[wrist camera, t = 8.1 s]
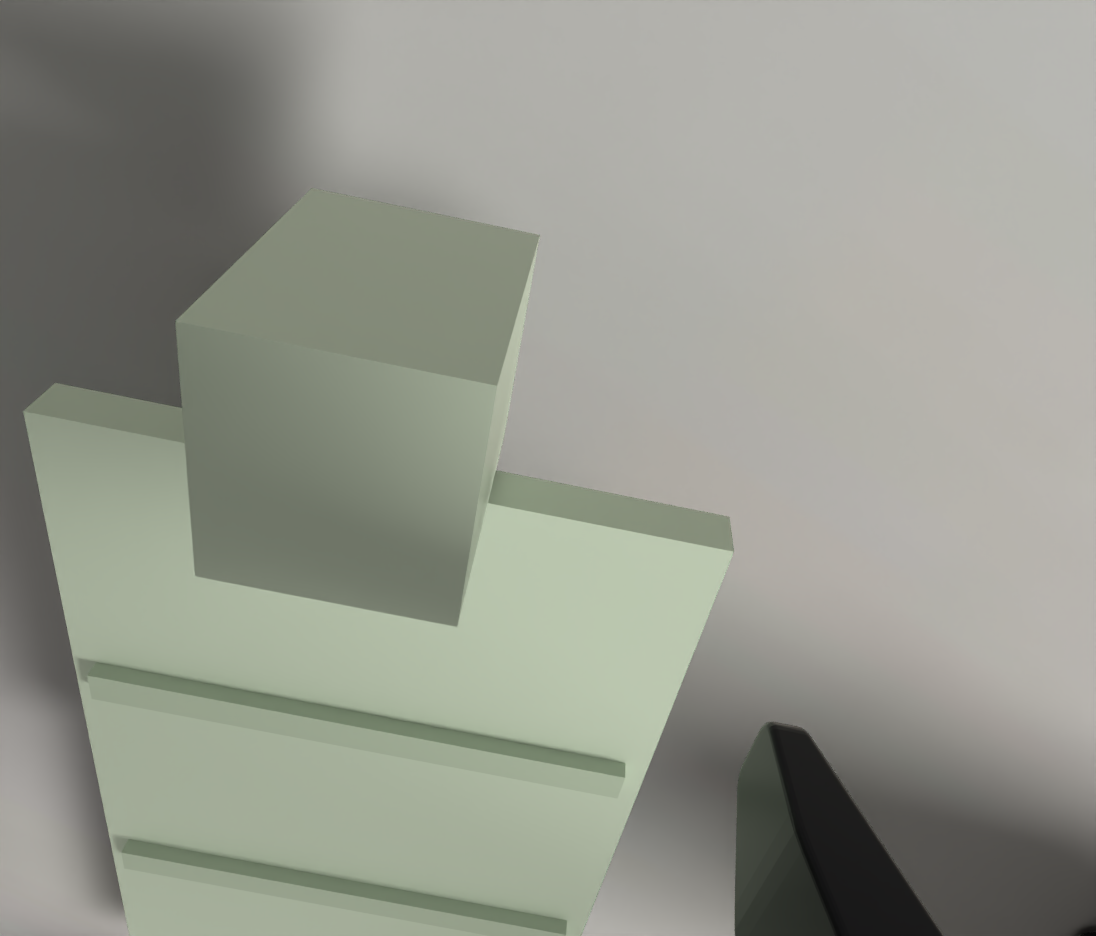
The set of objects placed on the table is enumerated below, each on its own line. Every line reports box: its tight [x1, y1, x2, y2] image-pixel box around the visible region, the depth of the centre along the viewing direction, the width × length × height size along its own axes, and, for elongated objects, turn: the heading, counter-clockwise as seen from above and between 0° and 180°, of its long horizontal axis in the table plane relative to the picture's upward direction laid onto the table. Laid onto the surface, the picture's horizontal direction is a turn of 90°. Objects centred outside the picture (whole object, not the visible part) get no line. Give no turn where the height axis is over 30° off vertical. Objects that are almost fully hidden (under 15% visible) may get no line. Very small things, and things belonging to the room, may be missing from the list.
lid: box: [23, 188, 734, 936], centre depth 15 cm, size 19×10×4 cm, turn 170°
